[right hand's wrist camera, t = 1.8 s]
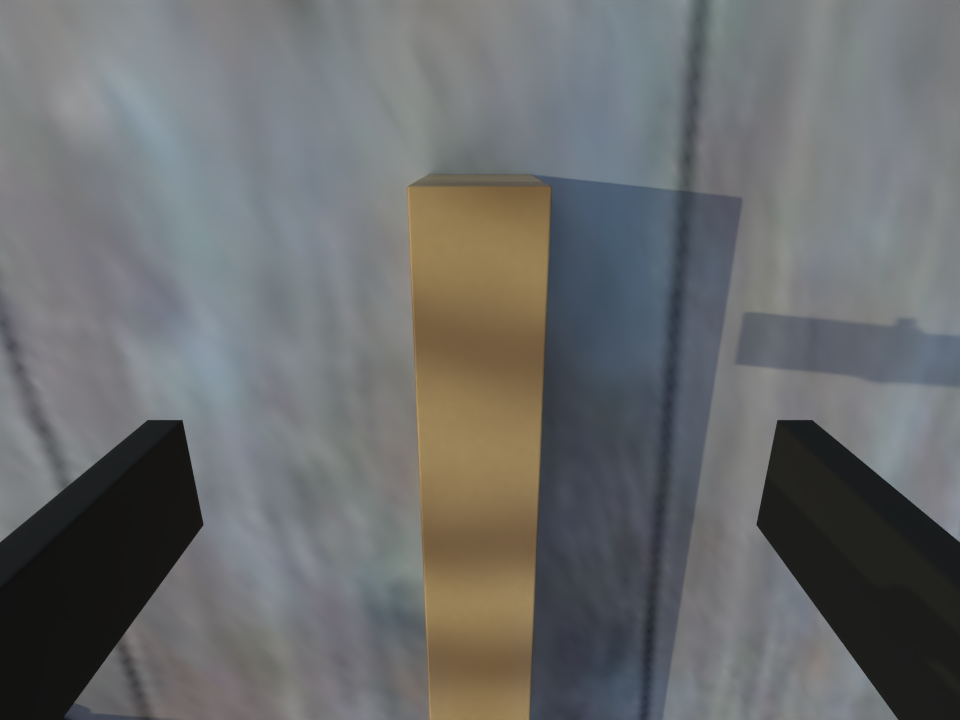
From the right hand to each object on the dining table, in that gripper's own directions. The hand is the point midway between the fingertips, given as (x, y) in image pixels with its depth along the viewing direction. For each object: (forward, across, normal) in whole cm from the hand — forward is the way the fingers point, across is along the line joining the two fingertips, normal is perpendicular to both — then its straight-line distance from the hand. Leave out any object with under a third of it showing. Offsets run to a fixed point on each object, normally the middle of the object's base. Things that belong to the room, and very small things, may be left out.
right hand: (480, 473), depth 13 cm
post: (+16, 0, -24) cm, 29 cm away
